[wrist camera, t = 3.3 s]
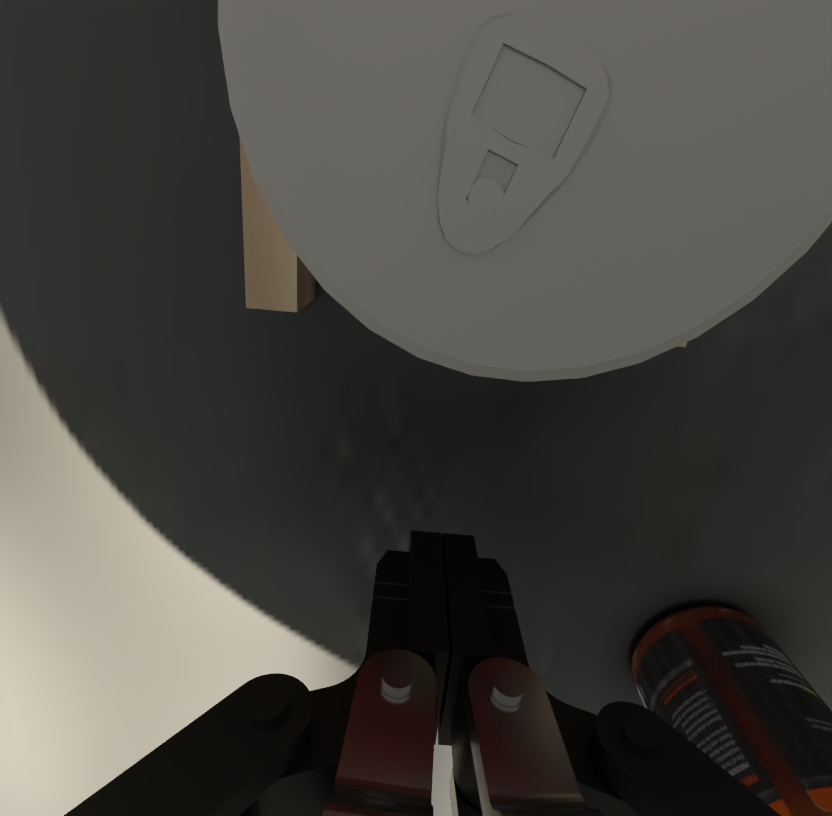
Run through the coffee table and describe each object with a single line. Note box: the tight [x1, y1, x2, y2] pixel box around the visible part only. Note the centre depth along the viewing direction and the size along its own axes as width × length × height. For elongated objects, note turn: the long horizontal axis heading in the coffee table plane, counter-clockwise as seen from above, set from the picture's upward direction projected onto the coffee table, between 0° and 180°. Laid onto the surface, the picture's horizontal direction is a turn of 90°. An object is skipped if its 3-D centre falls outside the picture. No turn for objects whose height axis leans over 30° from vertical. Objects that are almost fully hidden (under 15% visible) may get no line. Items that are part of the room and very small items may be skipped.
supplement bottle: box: [631, 606, 832, 816], centre depth 17 cm, size 6×6×11 cm
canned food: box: [218, 0, 832, 382], centre depth 10 cm, size 8×8×11 cm
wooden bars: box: [240, 138, 687, 347], centre depth 14 cm, size 13×12×2 cm
